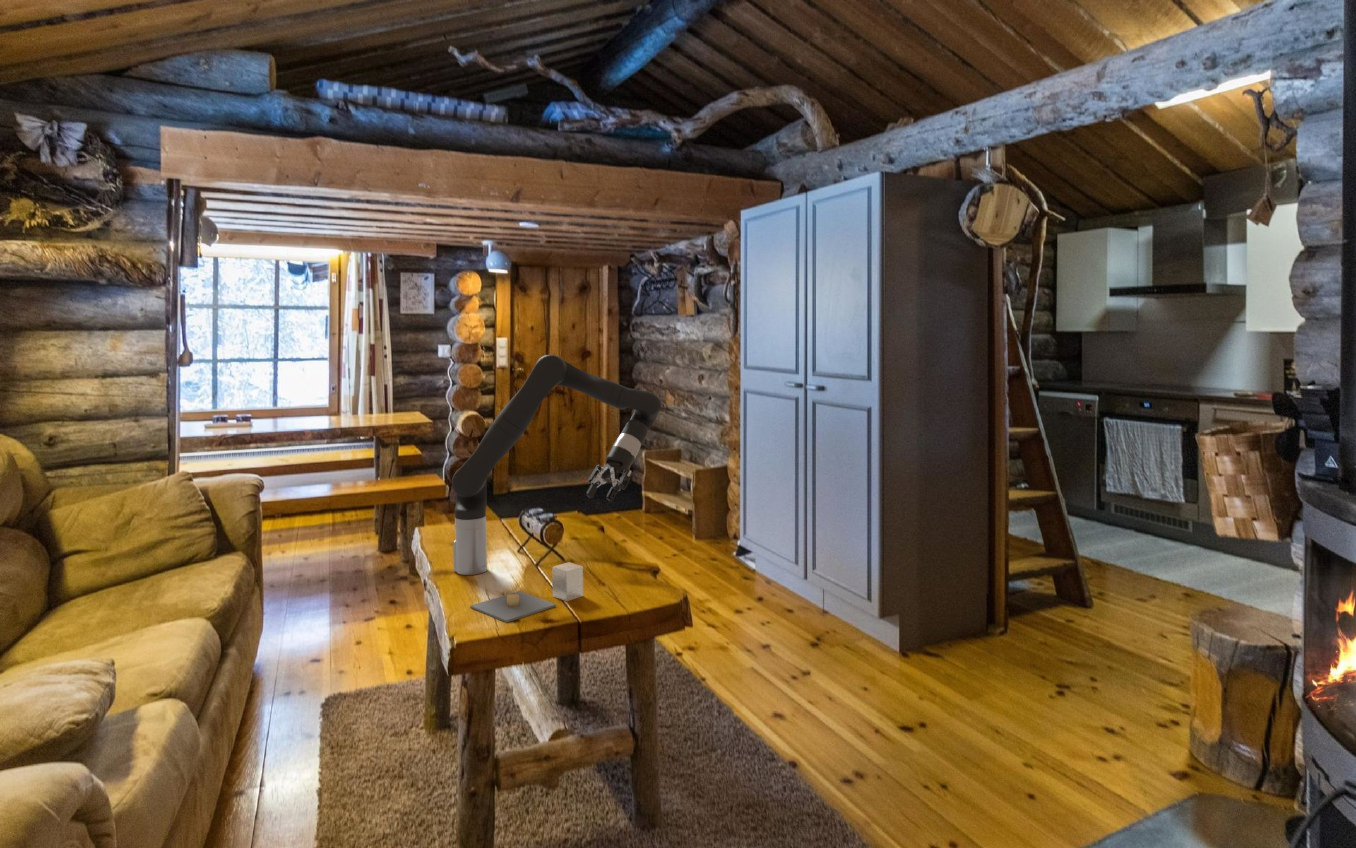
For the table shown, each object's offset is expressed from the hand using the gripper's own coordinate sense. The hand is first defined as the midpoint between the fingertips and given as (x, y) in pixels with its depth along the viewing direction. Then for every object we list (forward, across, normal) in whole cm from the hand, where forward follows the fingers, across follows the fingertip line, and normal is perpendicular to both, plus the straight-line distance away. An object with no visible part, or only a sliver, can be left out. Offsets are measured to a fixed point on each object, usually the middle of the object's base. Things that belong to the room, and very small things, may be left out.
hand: (598, 498), depth 221 cm
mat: (+38, -5, -4) cm, 38 cm away
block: (+27, -1, +8) cm, 29 cm away
